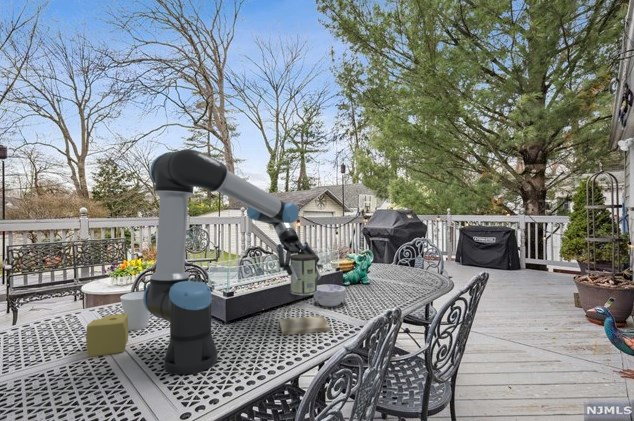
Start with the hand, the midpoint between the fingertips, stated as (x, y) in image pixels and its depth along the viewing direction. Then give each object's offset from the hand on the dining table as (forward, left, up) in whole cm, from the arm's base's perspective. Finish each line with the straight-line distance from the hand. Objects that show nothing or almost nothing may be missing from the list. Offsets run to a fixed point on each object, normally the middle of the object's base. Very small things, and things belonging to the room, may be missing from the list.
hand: (307, 279), depth 130 cm
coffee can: (-1, +3, -6) cm, 6 cm away
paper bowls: (+16, +30, -19) cm, 39 cm away
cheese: (-67, -4, -19) cm, 70 cm away
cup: (-64, +16, -19) cm, 69 cm away
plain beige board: (-1, +3, -19) cm, 19 cm away
